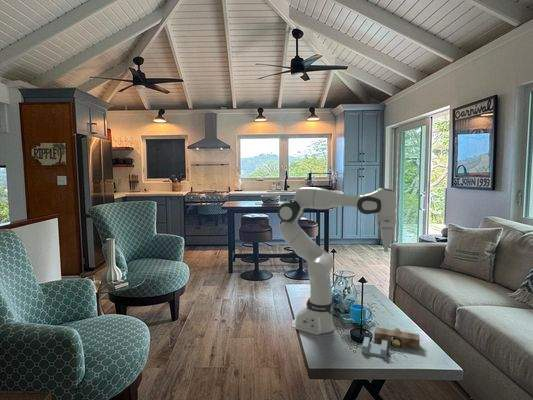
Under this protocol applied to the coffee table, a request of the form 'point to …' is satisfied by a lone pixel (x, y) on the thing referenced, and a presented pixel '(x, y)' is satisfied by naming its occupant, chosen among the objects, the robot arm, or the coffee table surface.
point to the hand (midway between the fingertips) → (385, 249)
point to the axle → (396, 340)
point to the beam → (407, 338)
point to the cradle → (374, 348)
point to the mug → (358, 313)
